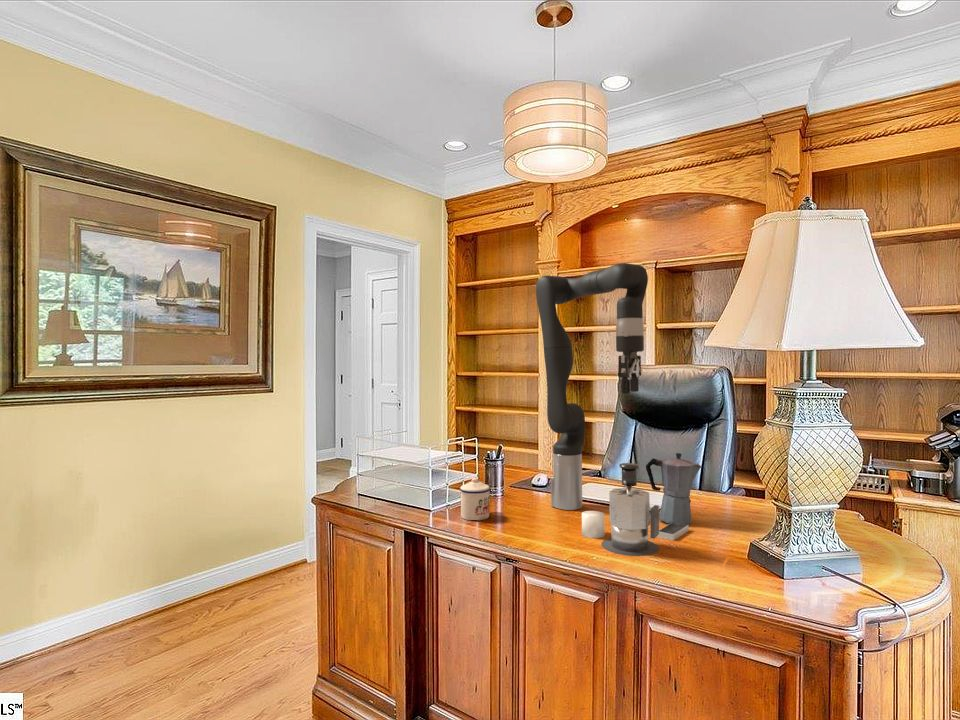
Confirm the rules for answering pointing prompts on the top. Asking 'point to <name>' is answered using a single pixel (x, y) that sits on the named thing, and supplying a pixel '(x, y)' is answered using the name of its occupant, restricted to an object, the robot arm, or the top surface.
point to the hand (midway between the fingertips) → (630, 392)
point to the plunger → (629, 475)
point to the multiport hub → (673, 531)
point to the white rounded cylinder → (593, 524)
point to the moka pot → (675, 488)
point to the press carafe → (632, 519)
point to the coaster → (651, 550)
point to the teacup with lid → (475, 500)
